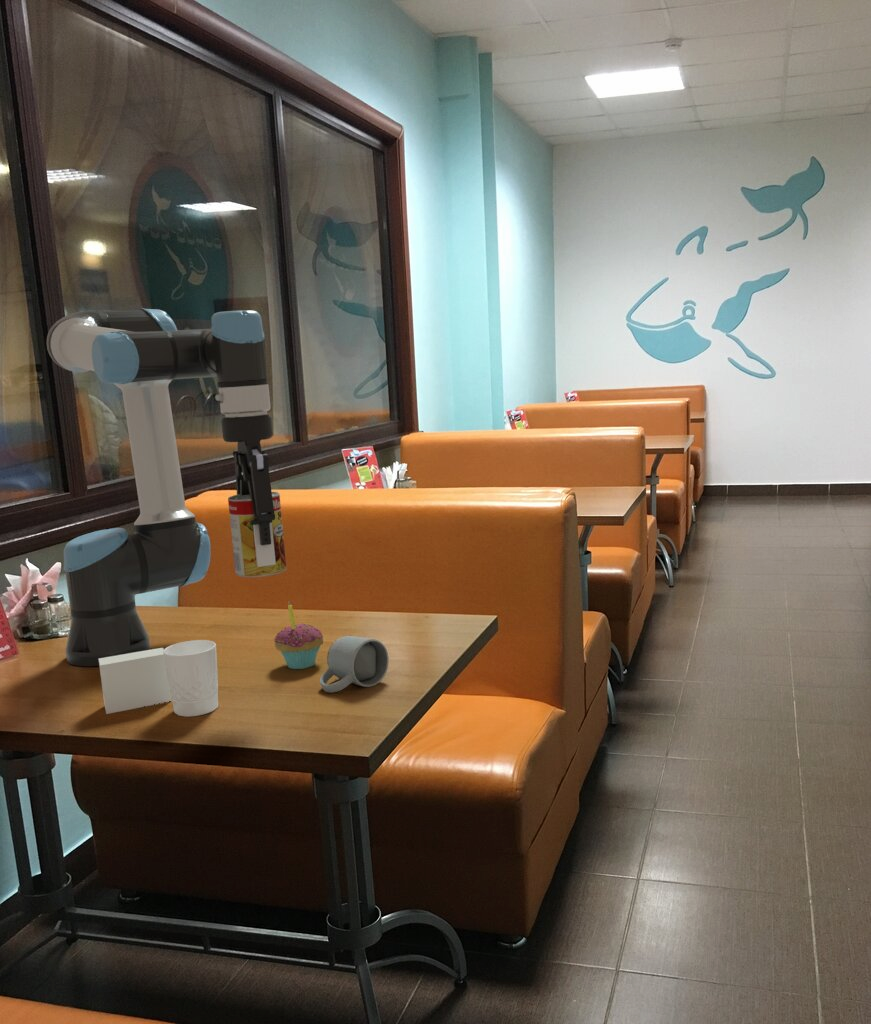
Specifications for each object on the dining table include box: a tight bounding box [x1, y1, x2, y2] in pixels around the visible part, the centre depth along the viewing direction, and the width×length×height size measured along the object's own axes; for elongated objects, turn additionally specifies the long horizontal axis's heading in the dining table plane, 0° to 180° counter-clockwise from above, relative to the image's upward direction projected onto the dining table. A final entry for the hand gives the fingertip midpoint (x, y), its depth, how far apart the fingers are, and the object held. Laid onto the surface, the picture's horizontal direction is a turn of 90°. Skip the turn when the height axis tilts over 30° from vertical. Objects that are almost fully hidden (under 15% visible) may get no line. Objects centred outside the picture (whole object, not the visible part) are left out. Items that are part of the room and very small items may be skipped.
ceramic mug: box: [319, 635, 390, 694], centre depth 154 cm, size 11×8×8 cm
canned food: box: [227, 491, 287, 578], centre depth 147 cm, size 8×8×12 cm
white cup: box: [163, 639, 219, 718], centre depth 147 cm, size 8×8×10 cm
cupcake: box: [274, 601, 324, 670], centre depth 165 cm, size 9×8×12 cm
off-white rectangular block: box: [99, 647, 173, 715], centre depth 151 cm, size 4×10×8 cm, turn 113°
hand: (260, 560), depth 148 cm, fingers closed on canned food, 8 cm apart
